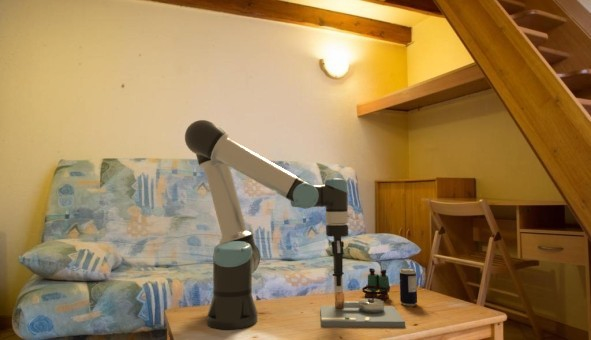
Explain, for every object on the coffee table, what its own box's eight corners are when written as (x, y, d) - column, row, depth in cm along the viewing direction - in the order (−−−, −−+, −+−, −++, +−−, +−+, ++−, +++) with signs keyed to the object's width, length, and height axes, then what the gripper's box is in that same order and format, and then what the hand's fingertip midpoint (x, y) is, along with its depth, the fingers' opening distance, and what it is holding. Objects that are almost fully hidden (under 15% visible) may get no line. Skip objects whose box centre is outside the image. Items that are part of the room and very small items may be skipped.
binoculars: (358, 273, 140) (368, 266, 148) (360, 302, 140) (370, 293, 148) (382, 276, 135) (391, 268, 143) (384, 305, 135) (393, 296, 143)
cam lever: (381, 305, 125) (381, 290, 126) (386, 313, 117) (385, 296, 118) (334, 305, 126) (333, 290, 126) (335, 313, 118) (335, 296, 119)
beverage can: (415, 302, 136) (414, 268, 137) (418, 306, 131) (417, 270, 132) (399, 301, 137) (398, 267, 138) (401, 306, 131) (400, 270, 132)
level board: (321, 326, 111) (321, 319, 111) (320, 310, 127) (320, 303, 127) (405, 326, 110) (405, 319, 110) (393, 310, 126) (393, 304, 126)
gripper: (350, 225, 123) (351, 300, 122) (346, 222, 136) (348, 290, 135) (326, 225, 124) (328, 300, 122) (325, 223, 137) (326, 290, 135)
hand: (338, 295), depth 128 cm, fingers closed
